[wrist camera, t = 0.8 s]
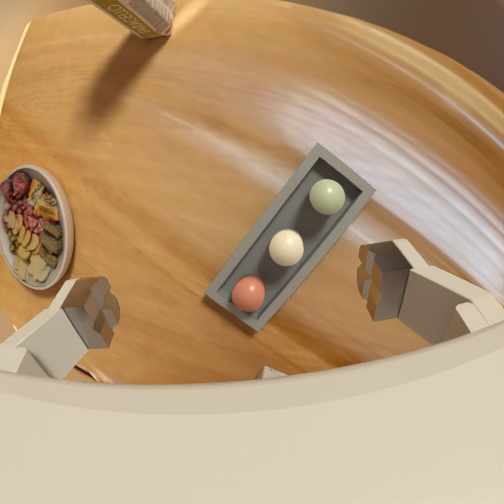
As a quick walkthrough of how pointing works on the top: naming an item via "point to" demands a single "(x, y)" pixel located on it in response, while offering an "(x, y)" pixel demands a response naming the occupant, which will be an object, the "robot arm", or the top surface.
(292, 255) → the cream round piece
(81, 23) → the top surface
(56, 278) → the bowl
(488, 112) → the top surface
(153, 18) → the juice carton
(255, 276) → the brick button
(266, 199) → the top surface
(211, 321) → the top surface
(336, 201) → the sage button
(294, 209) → the grey rectangular tray
